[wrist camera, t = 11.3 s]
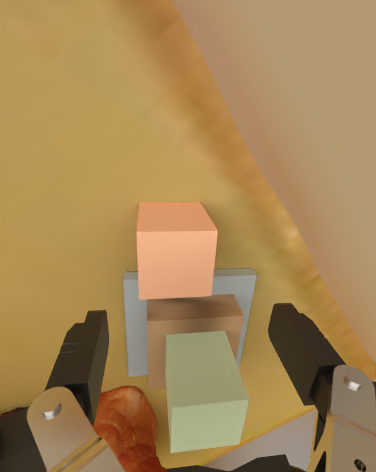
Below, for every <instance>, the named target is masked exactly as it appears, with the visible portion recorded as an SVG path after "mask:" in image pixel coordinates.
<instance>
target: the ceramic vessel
mask: <svg viewBox="0 0 376 472" xmlns="http://www.w3.org/2000/svg"><path fill="white" fill-rule="evenodd" d="M26 408H27V407H26ZM23 409H25V408H16V409H14V410H12V411H10V412H6V413H2V414H1V415H0V418H3V417H6V416H8V415H11V414H14V413H16V412H19V411H21V410H23ZM92 427H93V429H94V430H95V432H96V434H97V435H98V437H99V438H101V437H102V438H104V439H105V441H106V442H107V443H108V445H109V446H110V448H111V450H112V451H113V453H114V455H115V456H116V458H117V460H118V461H119V463H120V465H121V466H122V468H123V469H124V471H125V472H166V469H165V468H164V467H162V466H161V464H160V462H159V459H158V457H157V455H156V446H155V442H156V418H155V415H154V412H153V410H152V408H151V406H150V404H149V403H148V401H147V399H146V397H145V395H144V393H143V392H142V391H141V390H140V389H139V388H137V387H135V386H121V387H119V388H115V389H113V390H110V391H108V392H104V393H100V397H99V402H98V408H97V413H96V419H95V424H94V425H92Z"/></svg>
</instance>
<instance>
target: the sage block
mask: <svg viewBox="0 0 376 472" xmlns="http://www.w3.org/2000/svg"><path fill="white" fill-rule="evenodd" d="M165 379H166V393H167V408H168V422H169V437H170V452H171V453H178V452H185V451H193V450H200V449H208V448H215V447H223V446H230V445H238V444H240V440H241V435H242V431H243V426H244V422H245V417H246V413H247V408H248V404H249V397H248V394H247V391H246V388H245V385H244V383H243V380H242V377H241V374H240V371H239V369H238V366H237V363H236V360H235V357H234V355H233V352H232V349H231V346H230V343H229V341H228V338H227V335H226V332H225V331H214V332H199V333H184V334H170V335H166V369H165Z"/></svg>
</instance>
